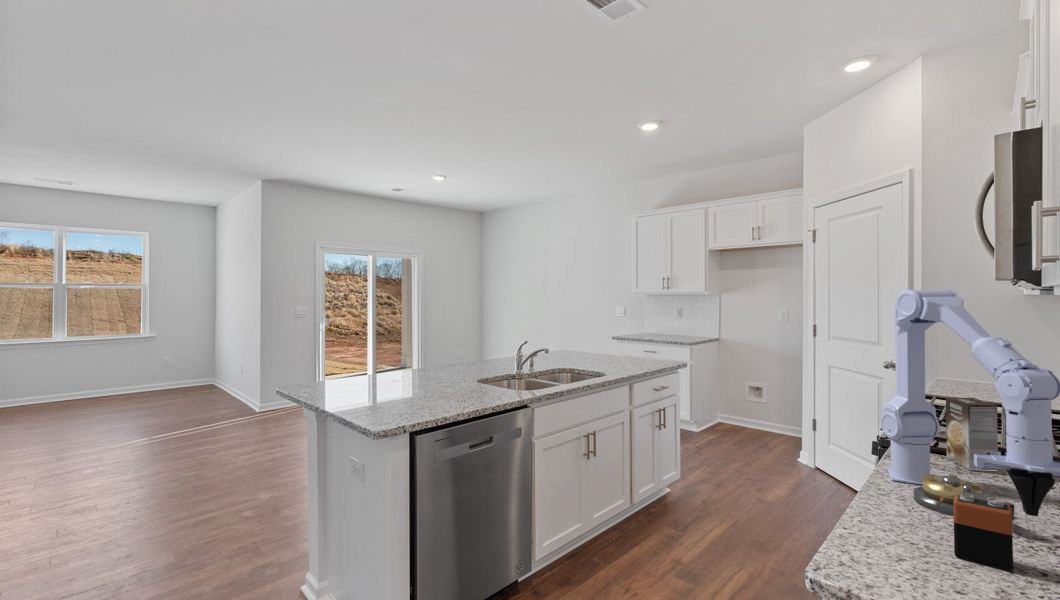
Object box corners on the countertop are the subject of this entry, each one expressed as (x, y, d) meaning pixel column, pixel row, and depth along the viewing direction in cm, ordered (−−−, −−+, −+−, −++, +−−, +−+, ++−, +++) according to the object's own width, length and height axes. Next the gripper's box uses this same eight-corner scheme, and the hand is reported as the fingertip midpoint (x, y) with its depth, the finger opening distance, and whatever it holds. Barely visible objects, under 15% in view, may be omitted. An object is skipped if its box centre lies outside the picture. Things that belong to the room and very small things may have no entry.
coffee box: (945, 459, 127) (943, 396, 127) (973, 460, 125) (972, 397, 125) (969, 471, 118) (967, 404, 118) (1000, 472, 116) (999, 404, 116)
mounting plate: (909, 489, 107) (909, 482, 107) (983, 500, 101) (983, 492, 101) (918, 509, 97) (918, 501, 97) (1000, 523, 91) (1000, 514, 91)
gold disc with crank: (911, 488, 103) (911, 470, 103) (955, 487, 103) (954, 470, 103) (985, 525, 86) (984, 504, 86) (1037, 525, 86) (1037, 504, 86)
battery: (1013, 573, 74) (1011, 507, 74) (954, 557, 79) (952, 495, 79) (1012, 561, 78) (1011, 498, 78) (955, 547, 82) (954, 488, 82)
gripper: (980, 436, 87) (981, 513, 87) (1098, 448, 80) (1100, 531, 80) (970, 427, 94) (972, 499, 93) (1079, 437, 86) (1081, 515, 86)
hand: (1030, 513), depth 87 cm, fingers closed
